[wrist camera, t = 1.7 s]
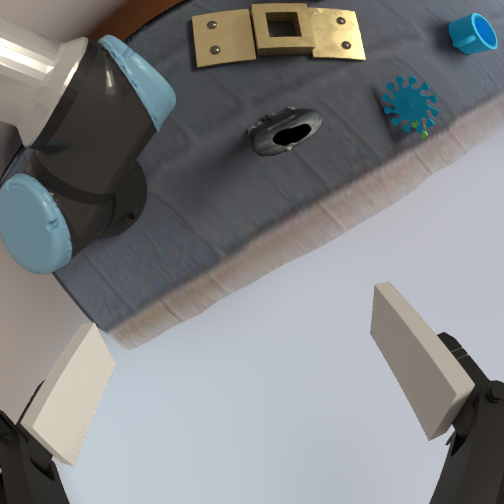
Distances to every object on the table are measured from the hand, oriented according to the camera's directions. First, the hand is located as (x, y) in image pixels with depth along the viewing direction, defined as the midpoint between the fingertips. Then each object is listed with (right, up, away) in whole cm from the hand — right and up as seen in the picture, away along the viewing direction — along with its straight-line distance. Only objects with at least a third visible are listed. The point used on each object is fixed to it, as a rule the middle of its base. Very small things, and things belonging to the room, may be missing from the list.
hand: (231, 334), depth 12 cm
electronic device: (+4, +22, +29) cm, 37 cm away
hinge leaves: (+5, +38, +22) cm, 45 cm away
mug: (+44, +48, +20) cm, 68 cm away
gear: (+24, +28, +28) cm, 47 cm away
